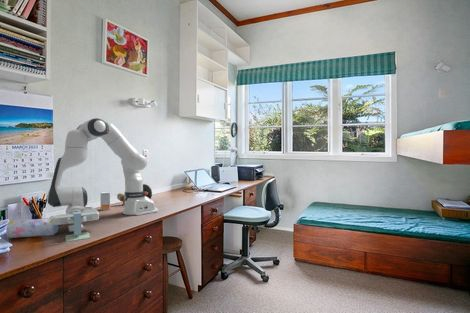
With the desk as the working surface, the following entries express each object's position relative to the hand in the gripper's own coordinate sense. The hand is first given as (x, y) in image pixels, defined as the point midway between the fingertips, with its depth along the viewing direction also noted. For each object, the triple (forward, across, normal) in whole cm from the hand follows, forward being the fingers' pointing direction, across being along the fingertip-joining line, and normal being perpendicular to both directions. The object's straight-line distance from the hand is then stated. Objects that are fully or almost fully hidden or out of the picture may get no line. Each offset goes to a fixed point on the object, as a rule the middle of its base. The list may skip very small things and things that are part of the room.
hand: (77, 221), depth 136 cm
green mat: (-1, 0, +8) cm, 8 cm away
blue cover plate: (-1, 0, +6) cm, 6 cm away
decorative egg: (-64, +47, +9) cm, 80 cm away
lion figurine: (-67, +36, +9) cm, 76 cm away
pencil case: (-14, -18, +8) cm, 25 cm away
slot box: (-16, 0, +8) cm, 18 cm away
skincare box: (-59, +20, +8) cm, 63 cm away
